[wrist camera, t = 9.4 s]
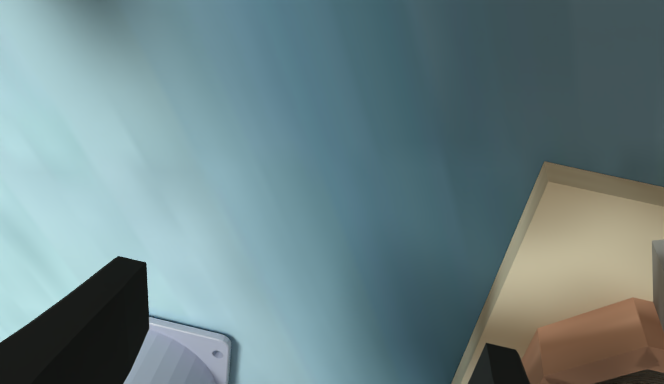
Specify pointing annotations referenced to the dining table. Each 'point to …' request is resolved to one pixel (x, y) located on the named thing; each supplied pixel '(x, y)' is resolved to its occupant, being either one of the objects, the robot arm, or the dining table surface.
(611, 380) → the cylinder
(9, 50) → the dining table surface
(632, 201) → the coupling stand
